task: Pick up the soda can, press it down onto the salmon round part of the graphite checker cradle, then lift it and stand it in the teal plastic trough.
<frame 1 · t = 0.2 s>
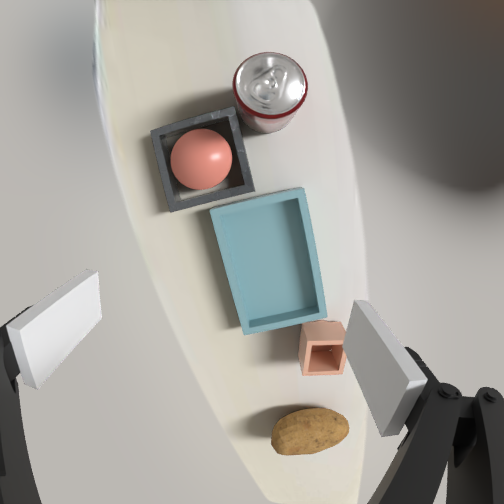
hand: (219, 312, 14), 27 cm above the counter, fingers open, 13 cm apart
trough: (271, 260, 42), on the counter
soda can: (266, 108, 37), on the counter
salmon round part: (202, 159, 37), point 2 cm above the counter, slide at -0.7 cm
cradle: (204, 159, 39), on the counter
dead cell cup: (318, 337, 45), on the counter
potato: (307, 415, 50), on the counter
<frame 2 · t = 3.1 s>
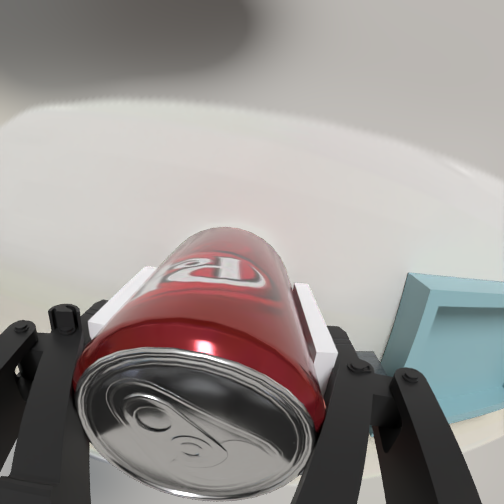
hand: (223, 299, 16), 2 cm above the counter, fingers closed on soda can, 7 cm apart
trough: (470, 347, 19), on the counter
soda can: (227, 283, 18), on the counter, touching gripper
salmon round part: (286, 426, 19), point 2 cm above the counter, slide at -0.7 cm
cradle: (284, 407, 21), on the counter
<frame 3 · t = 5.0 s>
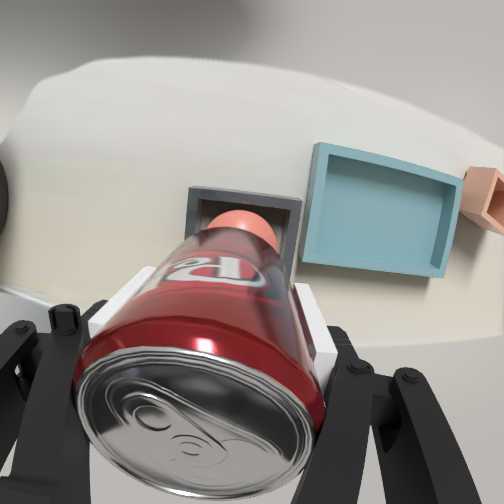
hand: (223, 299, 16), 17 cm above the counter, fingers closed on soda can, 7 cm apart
trough: (382, 212, 32), on the counter
soda can: (227, 283, 18), point 15 cm above the counter, touching gripper
salmon round part: (239, 246, 31), point 2 cm above the counter, slide at -0.7 cm
cradle: (240, 241, 33), on the counter
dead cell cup: (473, 197, 31), on the counter
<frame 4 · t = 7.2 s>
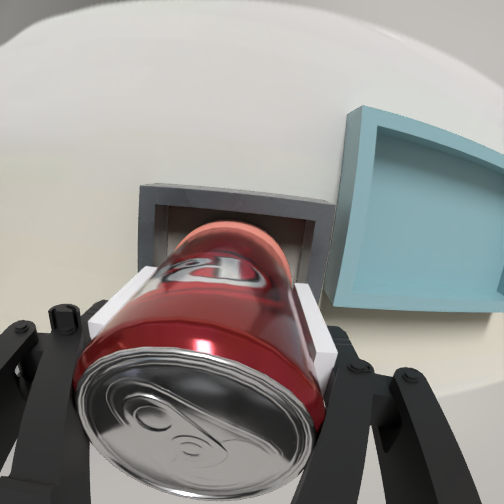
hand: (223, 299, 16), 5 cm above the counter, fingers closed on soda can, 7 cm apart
trough: (445, 221, 19), on the counter
soda can: (227, 283, 18), point 2 cm above the counter, touching gripper, salmon round part
salmon round part: (229, 278, 19), point 1 cm above the counter, slide at -1.5 cm, touching soda can
cradle: (231, 271, 20), on the counter
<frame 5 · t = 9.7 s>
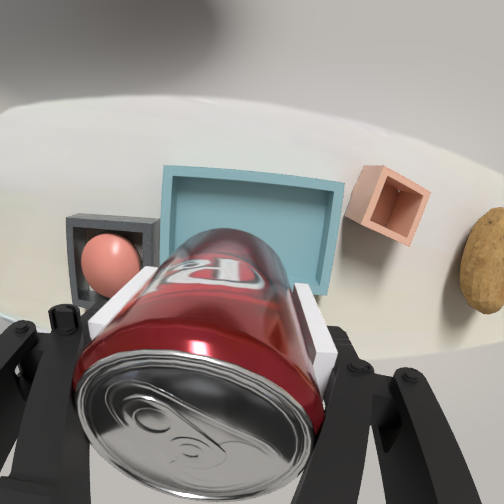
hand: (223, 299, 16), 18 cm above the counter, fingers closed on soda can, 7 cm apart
trough: (249, 226, 33), on the counter
soda can: (226, 284, 18), point 15 cm above the counter, touching gripper
salmon round part: (112, 264, 33), point 1 cm above the counter, slide at -1.5 cm
cradle: (117, 261, 34), on the counter
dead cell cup: (374, 200, 32), on the counter
potato: (473, 250, 34), on the counter
when the fingers open (4 cm above the counter, at t = 12.3 s): soda can drops 1 cm, resting on trough.
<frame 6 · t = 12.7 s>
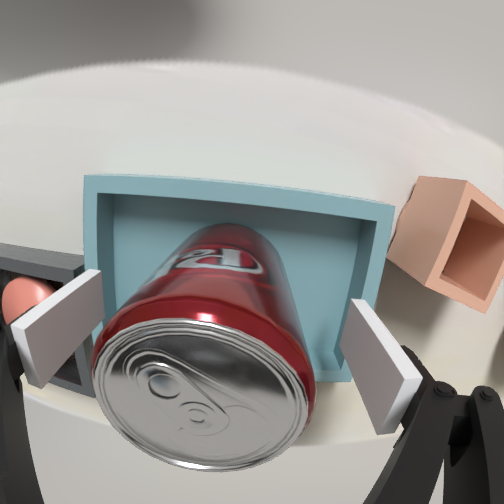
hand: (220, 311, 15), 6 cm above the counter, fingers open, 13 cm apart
trough: (229, 274, 20), on the counter
soda can: (228, 276, 20), resting on trough
salmon round part: (39, 317, 20), point 1 cm above the counter, slide at -1.5 cm
cradle: (48, 311, 21), on the counter
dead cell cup: (430, 231, 19), on the counter
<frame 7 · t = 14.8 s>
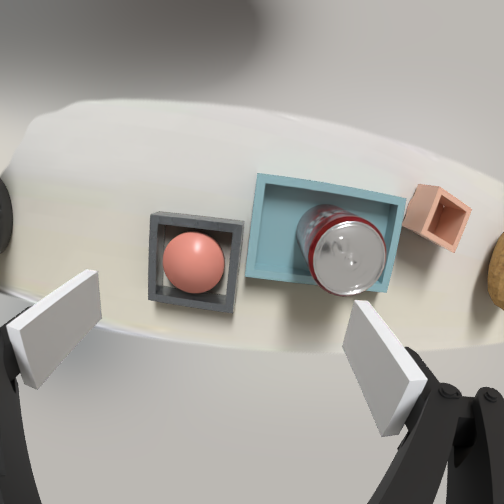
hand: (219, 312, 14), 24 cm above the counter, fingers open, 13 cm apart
trough: (324, 231, 37), on the counter
soda can: (324, 232, 37), resting on trough
salmon round part: (194, 261, 37), point 1 cm above the counter, slide at -1.5 cm
cradle: (196, 258, 39), on the counter
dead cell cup: (424, 213, 36), on the counter
potato: (497, 258, 37), on the counter
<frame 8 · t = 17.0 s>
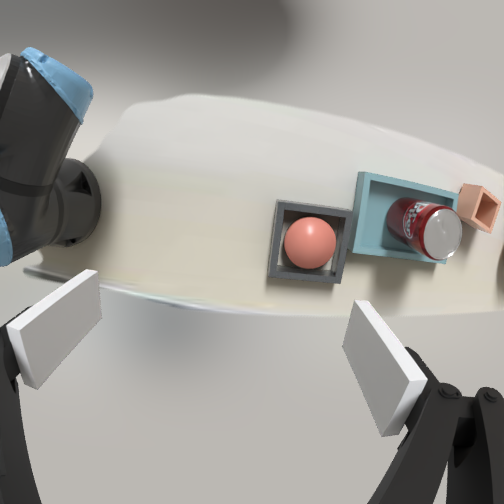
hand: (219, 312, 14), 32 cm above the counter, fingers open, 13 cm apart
trough: (402, 218, 45), on the counter
soda can: (403, 218, 44), resting on trough
salmon round part: (309, 241, 45), point 1 cm above the counter, slide at -1.5 cm
cradle: (307, 239, 46), on the counter
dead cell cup: (466, 205, 44), on the counter
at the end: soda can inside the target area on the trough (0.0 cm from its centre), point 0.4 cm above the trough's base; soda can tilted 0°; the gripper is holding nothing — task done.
